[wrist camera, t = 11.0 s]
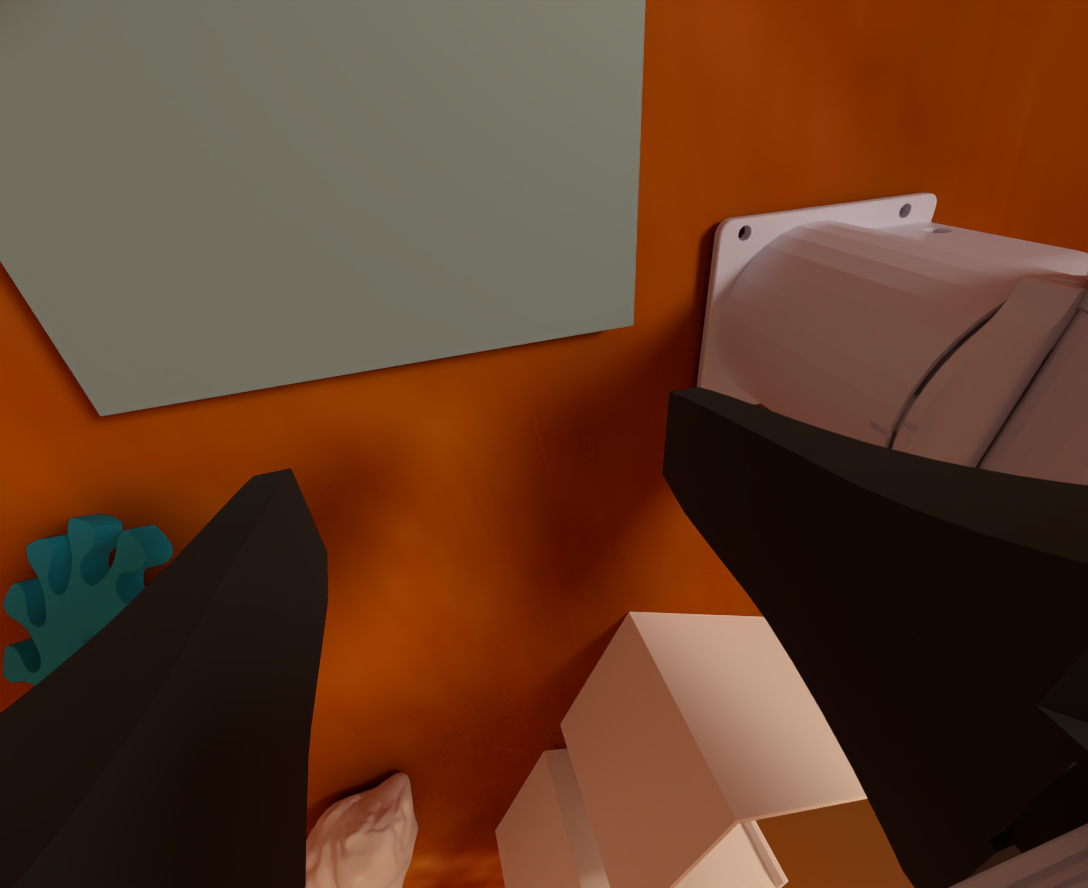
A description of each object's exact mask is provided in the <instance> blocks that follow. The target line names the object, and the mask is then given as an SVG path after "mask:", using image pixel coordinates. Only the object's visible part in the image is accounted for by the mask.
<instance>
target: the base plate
mask: <svg viewBox="0 0 1088 888" xmlns="http://www.w3.org/2000/svg"><path fill="white" fill-rule="evenodd" d="M644 26H645V0H0V261H1V263H2V265H3V266H4V268H5V269H6V271H7V272H8V274H9V275H10V277H11V279H12V280H13V282H14V283H15V285H16V286H17V288H18V289H19V291H20V292H21V294H22V296H23V297H24V299H25V300H26V302H27V303H28V305H29V306H30V308H31V309H32V311H33V313H34V314H35V316H36V317H37V319H38V320H39V322H40V323H41V325H42V327H43V328H44V330H45V331H46V333H47V334H48V336H49V337H50V339H51V340H52V342H53V344H54V345H55V347H56V348H57V350H58V351H59V353H60V354H61V356H62V358H63V359H64V361H65V362H66V364H67V365H68V367H69V368H70V370H71V371H72V373H73V375H74V376H75V378H76V379H77V381H78V382H79V384H80V385H81V387H82V389H83V390H84V392H85V393H86V395H87V396H88V398H89V399H90V401H91V402H92V404H93V406H94V407H95V409H96V410H97V412H98V413H99V415H100V416H106V415H112V414H117V413H123V412H129V411H135V410H141V409H147V408H153V407H158V406H164V405H170V404H176V403H182V402H188V401H193V400H199V399H205V398H211V397H217V396H223V395H229V394H234V393H240V392H246V391H252V390H258V389H264V388H270V387H275V386H281V385H287V384H293V383H299V382H305V381H311V380H316V379H322V378H328V377H334V376H340V375H346V374H352V373H357V372H363V371H369V370H375V369H381V368H387V367H392V366H398V365H404V364H410V363H416V362H422V361H428V360H433V359H439V358H445V357H451V356H457V355H463V354H469V353H474V352H480V351H486V350H492V349H498V348H504V347H510V346H515V345H521V344H527V343H533V342H539V341H545V340H551V339H556V338H562V337H568V336H574V335H580V334H586V333H591V332H597V331H603V330H609V329H615V328H621V327H627V326H632V325H633V322H634V295H635V268H636V241H637V214H638V187H639V160H640V133H641V106H642V79H643V53H644Z"/></svg>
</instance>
